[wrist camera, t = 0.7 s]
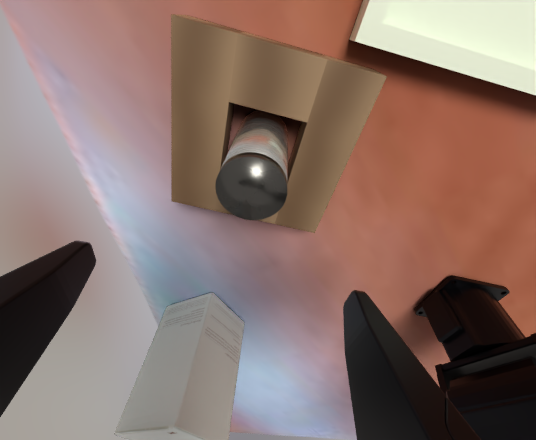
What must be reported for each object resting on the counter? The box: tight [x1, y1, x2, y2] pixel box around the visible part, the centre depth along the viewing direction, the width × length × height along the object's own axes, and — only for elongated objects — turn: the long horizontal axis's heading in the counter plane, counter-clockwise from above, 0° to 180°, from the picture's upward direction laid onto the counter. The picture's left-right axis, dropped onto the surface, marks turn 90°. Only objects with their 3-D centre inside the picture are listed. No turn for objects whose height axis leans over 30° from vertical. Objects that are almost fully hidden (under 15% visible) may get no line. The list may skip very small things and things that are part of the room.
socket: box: [171, 14, 387, 233], centre depth 17 cm, size 11×11×2 cm
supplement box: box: [114, 293, 244, 440], centre depth 27 cm, size 7×7×13 cm
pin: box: [215, 110, 288, 220], centre depth 15 cm, size 3×3×8 cm
